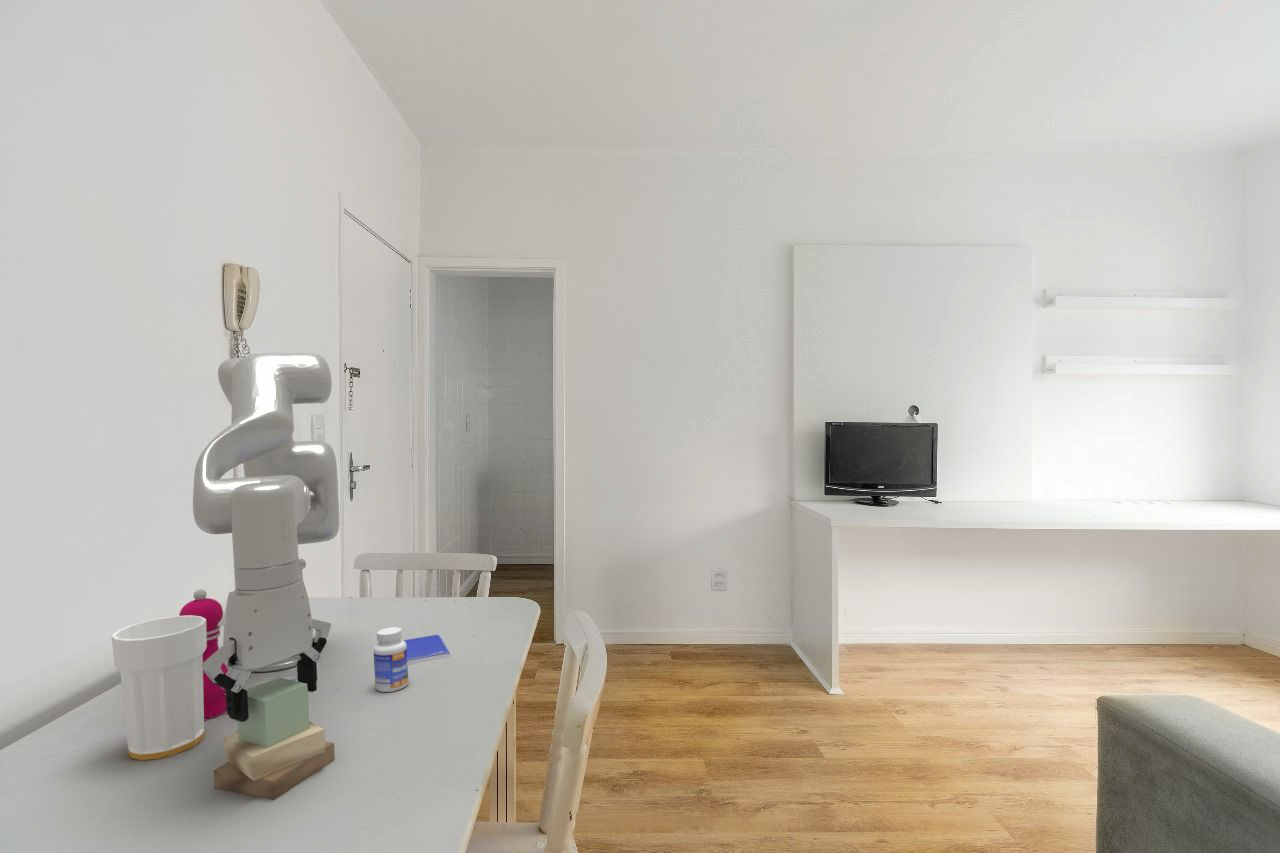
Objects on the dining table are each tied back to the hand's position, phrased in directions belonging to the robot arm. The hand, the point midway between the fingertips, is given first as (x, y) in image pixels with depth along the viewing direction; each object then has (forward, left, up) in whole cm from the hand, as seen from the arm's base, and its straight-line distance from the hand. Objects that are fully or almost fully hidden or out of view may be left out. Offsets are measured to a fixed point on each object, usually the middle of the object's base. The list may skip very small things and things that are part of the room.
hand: (274, 703), depth 93 cm
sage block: (0, 0, -4) cm, 4 cm away
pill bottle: (-9, +27, -9) cm, 30 cm away
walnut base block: (0, 0, -10) cm, 10 cm away
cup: (-23, -2, -9) cm, 25 cm away
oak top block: (0, 0, -7) cm, 7 cm away
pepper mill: (-29, +7, -9) cm, 31 cm away
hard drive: (-17, +42, -10) cm, 46 cm away
